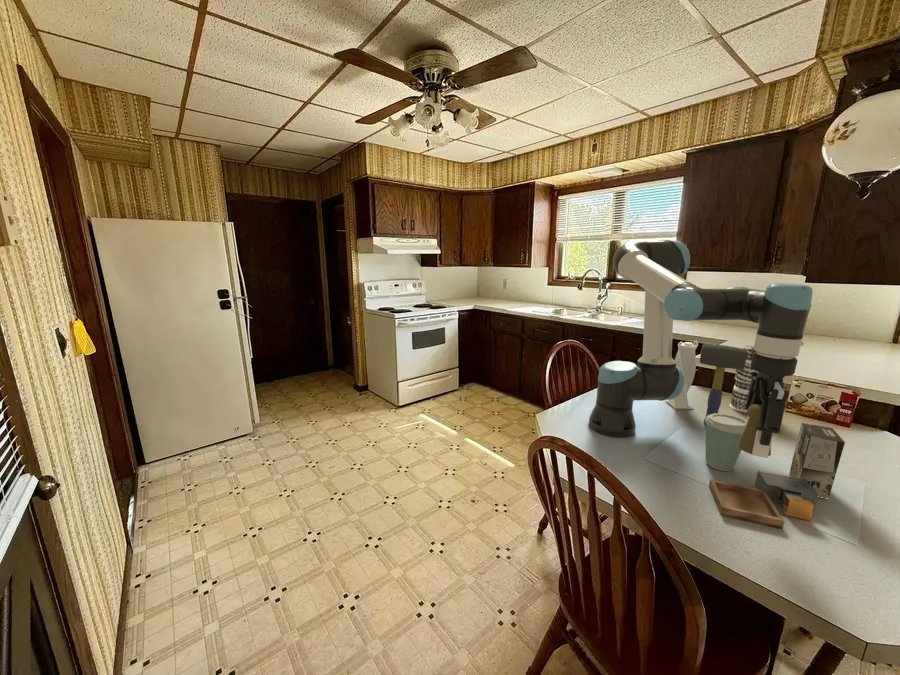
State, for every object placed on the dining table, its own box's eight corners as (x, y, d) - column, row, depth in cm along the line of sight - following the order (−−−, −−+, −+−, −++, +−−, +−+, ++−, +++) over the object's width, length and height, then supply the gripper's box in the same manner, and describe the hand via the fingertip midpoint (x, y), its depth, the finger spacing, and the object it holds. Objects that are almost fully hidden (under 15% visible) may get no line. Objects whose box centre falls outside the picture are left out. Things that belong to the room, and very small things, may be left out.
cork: (731, 443, 89) (739, 401, 87) (754, 442, 90) (763, 400, 87) (753, 457, 83) (763, 412, 81) (778, 456, 84) (788, 411, 81)
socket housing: (763, 499, 93) (766, 484, 92) (754, 485, 98) (758, 470, 97) (813, 510, 89) (817, 493, 88) (801, 495, 94) (805, 479, 93)
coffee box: (830, 500, 92) (846, 442, 88) (795, 492, 96) (810, 435, 92) (819, 481, 100) (833, 427, 96) (787, 474, 103) (800, 421, 99)
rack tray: (720, 515, 87) (722, 507, 87) (708, 486, 98) (710, 479, 97) (782, 529, 83) (784, 521, 82) (762, 497, 93) (764, 490, 93)
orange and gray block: (786, 515, 87) (789, 500, 86) (767, 486, 97) (770, 473, 96) (810, 520, 85) (814, 505, 84) (788, 490, 96) (791, 477, 95)
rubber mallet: (731, 428, 129) (747, 346, 122) (731, 437, 123) (749, 351, 116) (689, 419, 136) (702, 340, 129) (687, 426, 130) (701, 345, 123)
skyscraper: (695, 411, 142) (707, 341, 136) (674, 411, 143) (685, 341, 136) (682, 402, 151) (693, 336, 144) (662, 402, 151) (672, 336, 144)
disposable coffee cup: (691, 463, 108) (699, 416, 105) (705, 451, 115) (713, 406, 111) (734, 480, 100) (745, 430, 97) (747, 466, 107) (757, 419, 103)
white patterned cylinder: (735, 412, 142) (747, 349, 136) (723, 402, 150) (734, 343, 144) (762, 414, 140) (776, 351, 134) (749, 404, 148) (761, 344, 143)
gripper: (818, 369, 71) (792, 474, 77) (778, 345, 88) (759, 433, 94) (770, 364, 74) (748, 466, 79) (740, 342, 91) (724, 428, 96)
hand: (754, 448), depth 86 cm, fingers closed on cork, 6 cm apart
